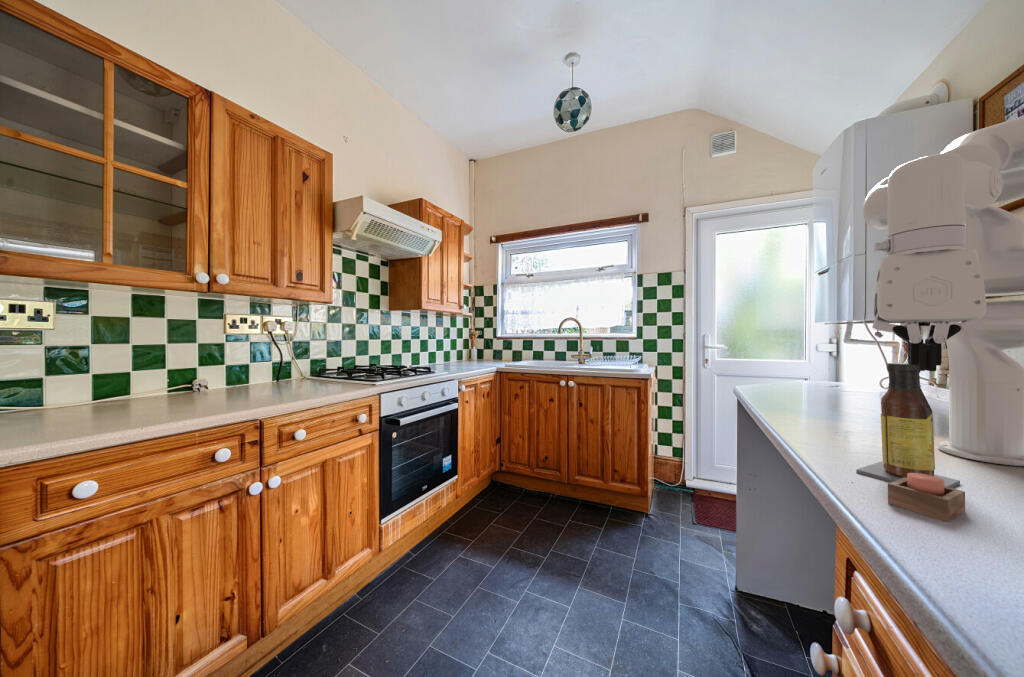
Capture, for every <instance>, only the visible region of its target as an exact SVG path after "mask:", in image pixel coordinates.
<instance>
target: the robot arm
mask: <svg viewBox="0 0 1024 677" xmlns="http://www.w3.org/2000/svg"><path fill="white" fill-rule="evenodd" d="M1021 198H1024V115H1022V116H1018V117H1016V118H1013V119H1010V120H1006V121H1003V122H999V123H997V124H993V125H990V126H986V127H984V128H980V129H977V130H974V131H972V132H969V133H966V134H964V135H962V136H960V137H958V138H956V139H954V140H953V141H952V142H951V143H950V144H948V145H947V146H946V147H945V148H944V149H943V150H942V151H941V152H940V153H937V154H932V155H926V156H923V157H919V158H917V159H914V160H911V161H907V162H906V163H903V164H901V165H899V166H897V167H896V168H894V170H892V171H891V173H890V174H889V176H888V177H886V178H884V179H882V180H881V181H880V182H877V184H876V185H874V187H872V189H871V190H870V191H869V192H868V194H867V195H866V198H865V200H864V202H863V208H862V216H863V219H864V221H865V223H866V224H867V225H868V226H869V227H870V228H872V229H875V230H879V231H882V230H884V231H885V230H887V235H886V236H887V238H886V239H885V240H884V241H881V242H876V243H874V246H873V251H874V252H875V253H877V252H880V253H883V254H885V257H883V258H882V259H881V260H880V261H881V262H880V265H879V267H878V268H879V269H878V272H877V276H876V277H877V278H876V284H875V292H874V301H873V315H874V320H873V324H872V326H871V327H872V329H873V330H875V331H880V332H885V333H886V332H887V333H893V334H894V335H896V336H897V337H899V338H900V339H902V340H903V342H905V343H906V344H907V363H908V364H909V365H913V369H914V370H918V371H920V372H925V371H928V372H937V366H942V362H943V361H942V359H943V356H942V355H943V353H942V352H943V351H942V349H943V348H942V344H944V343H946V348H947V356H948V426H949V427H948V439H949V440H944V441H943V440H942V441H939V442H938V443H937V448H938V449H939V450H940V451H942V452H944V453H947V454H950V455H953V456H956V457H960V458H965V459H969V460H972V461H973V460H974V461H979V462H984V463H990V464H998V465H1006V466H1016V467H1024V367H1023V366H1022V365H1021V364H1020V363H1019V362H1018V361H1017V360H1016V359H1013V358H1012V357H1011V356H1010V355H1008V354H1007V353H1005V352H1004V350H1024V299H1017V300H1015V299H1011V300H1010V299H1008V300H990V301H987V298H986V297H1000V296H1001V297H1002V296H1017V295H1018V296H1019V295H1024V220H1023V219H1022V218H1021V217H1019V216H1017V215H1016V214H1014V213H1012V212H1009V211H1008V210H1005V209H1003V208H1000V207H998V206H995V205H993V204H995V203H1001V202H1005V201H1011V200H1016V199H1021ZM894 323H897V324H894ZM898 323H899V324H898ZM919 323H929V327H928V332H927V336H926V338H925V339H923V338H922V334H921V330H920V325H919Z"/></svg>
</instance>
